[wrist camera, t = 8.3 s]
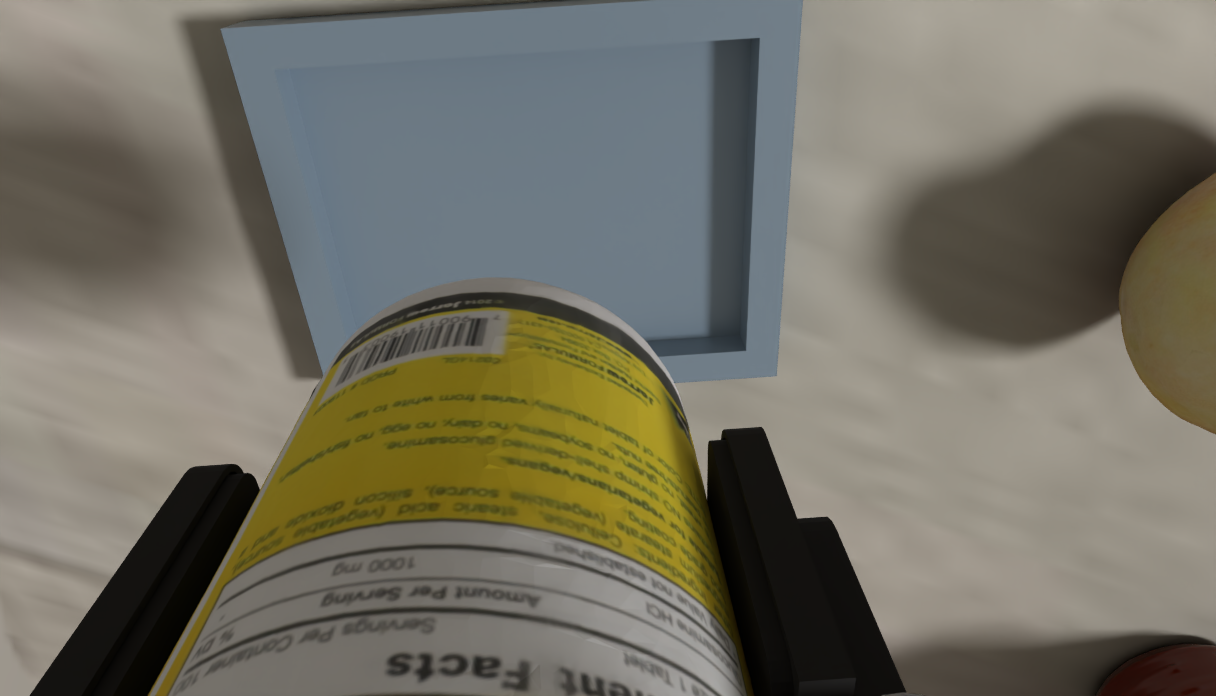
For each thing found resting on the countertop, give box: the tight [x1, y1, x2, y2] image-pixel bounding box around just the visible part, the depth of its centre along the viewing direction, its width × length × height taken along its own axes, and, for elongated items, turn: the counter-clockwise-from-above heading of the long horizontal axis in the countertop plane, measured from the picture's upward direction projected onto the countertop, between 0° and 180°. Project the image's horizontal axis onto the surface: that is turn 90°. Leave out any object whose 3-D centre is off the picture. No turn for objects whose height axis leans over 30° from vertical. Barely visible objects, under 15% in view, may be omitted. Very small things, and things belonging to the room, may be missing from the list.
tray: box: [221, 0, 803, 383], centre depth 21 cm, size 11×14×2 cm
